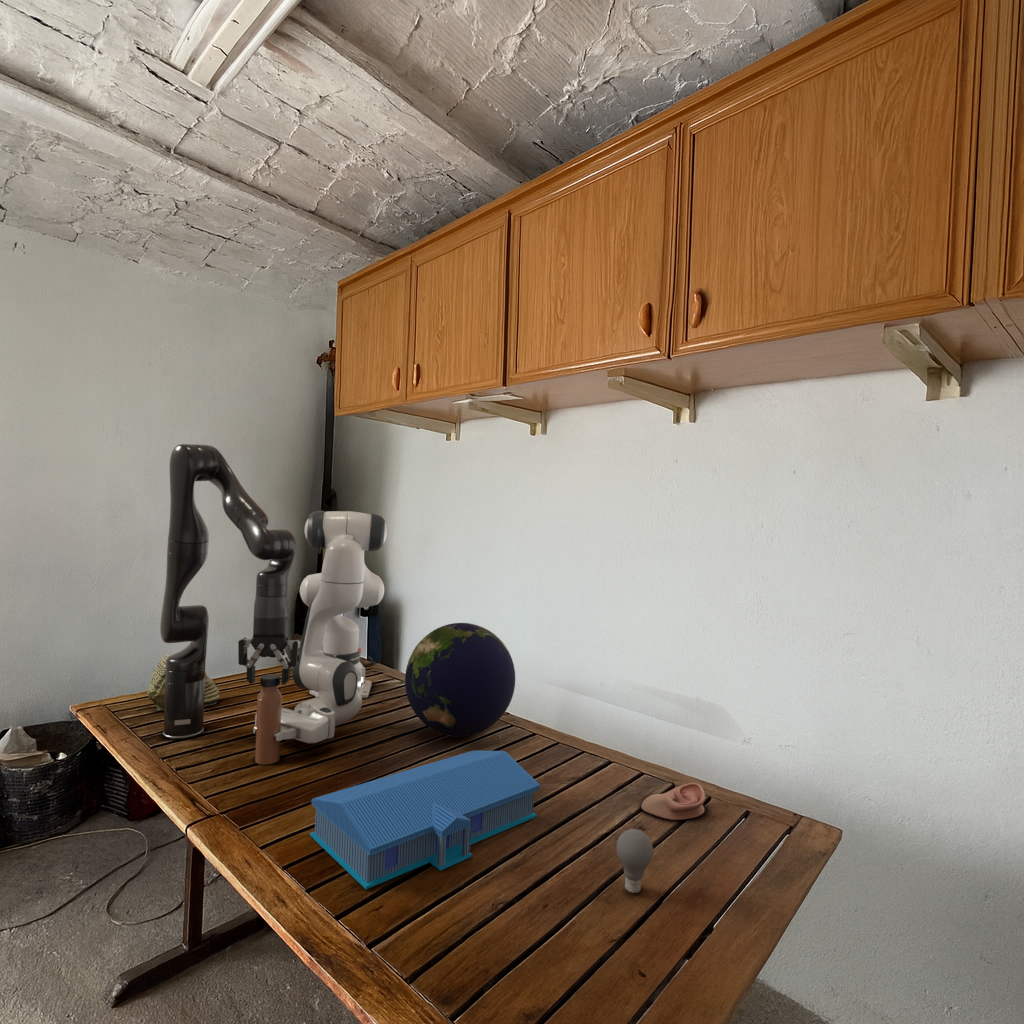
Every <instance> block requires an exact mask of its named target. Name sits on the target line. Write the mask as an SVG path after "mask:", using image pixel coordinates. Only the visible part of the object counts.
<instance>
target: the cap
mask: <svg viewBox="0 0 1024 1024" xmlns="http://www.w3.org/2000/svg"><path fill="white" fill-rule="evenodd" d="M259 685H260V687H262V688H263V687H275V686H277V687H278V686H280V685H281V675H280V674H276V673H267V674H263V675H261V676H260V679H259Z"/></svg>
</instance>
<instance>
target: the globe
mask: <svg viewBox="0 0 1024 1024" xmlns="http://www.w3.org/2000/svg"><path fill="white" fill-rule="evenodd" d="M515 669H516V668H515V665H514V661H513V658H512V656H511V653H510V650H509V649H508V647H507V646H506V644H505V643H504V642H503V641H502V639H500V637H498V636H497V635H496V634H495V633H494V632H492V631H491V630H489V629H488V628H485V627H483V626H481V625H478V624H475V623H470V622H453V623H448V624H444V625H442V626H439V627H437V628H435V629H434V630H432V631H430V632H428V633H427V634H426V635H425V636H424V637H422V639H420V641H419V642H417V645H415V647H414V649H413V650H412V652H411V654H410V657H409V659H408V662H407V664H406V669H405V675H404V676H405V677H404V686H405V694H406V697H407V702H408V703H409V705H410V707H411V710H412V711H413V712H414V714H415V715H416V717H417V718H418V719H419V720H420V721H421V723H423V724H424V725H425V726H426V727H428V728H429V729H431V730H432V731H434V732H436V733H439V734H441V735H444V736H448V737H452V738H453V737H454V738H461V737H462V738H463V737H469V736H470V737H471V736H474V735H477V734H480V733H482V732H484V731H486V730H488V729H489V728H491V727H492V726H494V725H495V724H496V723H497V722H498V721H499V720H500V719H501V718H502V717H503V716H504V714H505V713H506V711H507V710H508V708H509V707H510V704H511V702H512V699H513V697H514V693H515V688H516V670H515Z"/></svg>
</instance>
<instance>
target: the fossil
mask: <svg viewBox="0 0 1024 1024" xmlns="http://www.w3.org/2000/svg"><path fill="white" fill-rule="evenodd" d="M171 655H172V654H165V655H164V656H163V657H162V658H161V659H160V660H159V662H158V663H157V666H156V667H155V669H154V670H153V672H152V675H151V677H150V680H149V684H148V688H147V697H148V699H149V700H150V701H152V703H153V704H154V706H155V711H158V712H159V711H162V712H163V711H164V705H165V674H166V660H167V658H168V657H169V656H171ZM220 698H221V696H220V690H219V688H218V686H217V685H216V683H215V682H214V681H213V679H212V678H211V677H209V675H208V674H207V672H206V671H205V693H204V707H207V706H213V705H215V704H217V703H218V701H219V699H220Z"/></svg>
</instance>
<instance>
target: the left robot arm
mask: <svg viewBox="0 0 1024 1024" xmlns="http://www.w3.org/2000/svg"><path fill="white" fill-rule="evenodd" d="M195 482H209V483H211V484H212V485H214V486H215V487H216V488H217V489H218V490H219V491H220V494H221V502H222V503H221V504H222V508H223V511H224V514H225V515H226V516H227V518H228V519H229V520H230V522H231V523H232V524H233V525H234V526H235V527H236V528H237V529H238V530H239V531H240V533H241V535H242V537H243V540H244V542H245V544H246V547H247V549H248V551H249V552H250V554H251V555H253V556H254V557H255V558H257V559H258V560H261V561H269V562H268V565H267V567H266V568H264V569H262V570H260V571H258V572H257V574H256V579H255V580H256V581H255V599H254V603H253V621H252V622H253V623H252V624H253V627H252V637H251V638H247V637H243V638H241V639H239V640H238V642H237V643H238V646H237V647H238V650H237V652H238V659H237V660H238V661H237V662H238V665H239V666H244V667H245V668H246V681H247V682H248V684H250V685H251V684H254V683H255V682H256V665H255V664H256V663H257V662H258V660H259V659H260V658H276V659H277V661H278V662H279V663H280V664H281V666H282V669H281V685H283V686H285V685H287V683H288V682H289V681H290V680H291V668H293V667H295V666H296V665H297V664H298V663H299V655H300V644H301V639H296V640H294V639H293V640H292V639H289V638H288V616H289V615H288V614H289V600H288V589H289V586H288V585H289V575H290V572H291V570H292V567H293V563H294V560H295V556H296V552H297V541H296V538H295V536H294V534H293V533H292V532H291V531H289V530H288V529H283V528H281V529H268V528H267V527H268V525H269V521H270V520H269V516H268V515H267V513H265V511H264V510H263V509H262V508H261V506H260V505H258V503H257V502H256V501H255V500H253V498H252V497H251V496H250V495H249V494H248V492H247V491H246V490H245V488H244V487H243V485H242V484H241V483H240V480H239V479H238V477H237V476H236V475H235V473H234V471H233V470H232V468H231V467H230V465H229V463H228V462H227V460H226V459H225V457H224V456H223V454H222V453H221V452H220V451H219V450H218V448H216V447H215V446H213V445H211V444H210V445H209V444H194V443H193V444H191V443H181V444H177V445H176V446H175V447H174V448H173V449H172V451H171V453H170V458H169V495H170V503H169V504H170V505H169V508H170V509H169V525H168V526H169V527H168V535H167V547H166V548H167V550H166V574H165V586H164V595H163V601H162V607H161V615H160V623H159V631H160V638H161V640H162V641H163V642H164V644H178V643H189V642H190V643H189V644H188V645H187V646H186V647H185V648H183V649H182V650H179V651H177V652H175V653H173V654H170V655H171V656H169V657H168V658H167V660H166V674H165V705H164V710H163V731H162V737H164V738H166V739H169V740H185V739H190V738H191V739H192V738H194V737H197V736H199V735H202V734H203V732H204V730H205V729H204V722H205V721H204V718H205V706H204V693H205V672H206V664H207V663H206V660H207V648H208V636H209V625H210V615H209V611H208V609H207V607H206V606H205V605H203V604H198V605H197V604H195V605H193V604H192V605H180V603H181V599H182V597H183V594H184V593H185V590H186V589H187V587H188V586H189V584H190V583H191V581H192V580H193V579H194V578H195V577H196V576H197V574H198V573H199V571H201V569H202V567H203V566H204V565H205V563H206V561H207V558H208V554H209V541H210V534H209V533H210V532H209V529H208V526H207V524H206V522H205V520H204V519H203V517H202V515H201V513H200V511H199V509H198V508H197V505H196V501H195ZM250 646H252V647H253V649H254V652H253V653H252V654H251V657H250V659H248V648H249V647H250ZM287 646H289V649H290V650H291V658H289V656H288V653H287V652H286V650H285V649H286V647H287Z"/></svg>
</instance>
